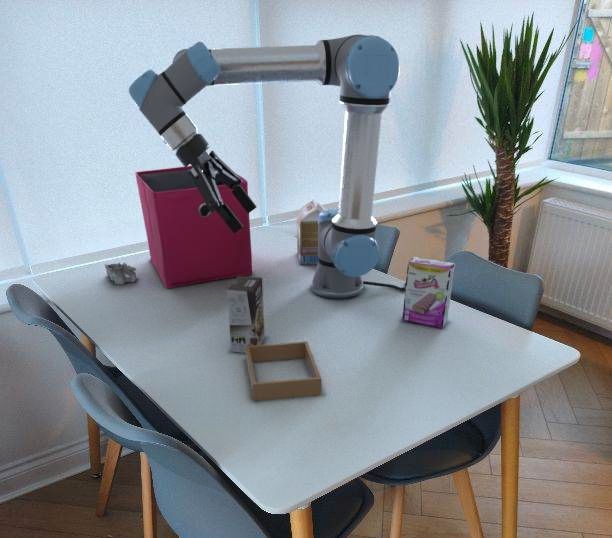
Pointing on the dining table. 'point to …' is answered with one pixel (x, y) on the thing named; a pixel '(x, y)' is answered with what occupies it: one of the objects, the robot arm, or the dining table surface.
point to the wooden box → (283, 386)
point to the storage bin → (191, 229)
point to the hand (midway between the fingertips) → (246, 219)
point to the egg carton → (121, 273)
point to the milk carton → (308, 232)
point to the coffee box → (245, 313)
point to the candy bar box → (428, 292)
